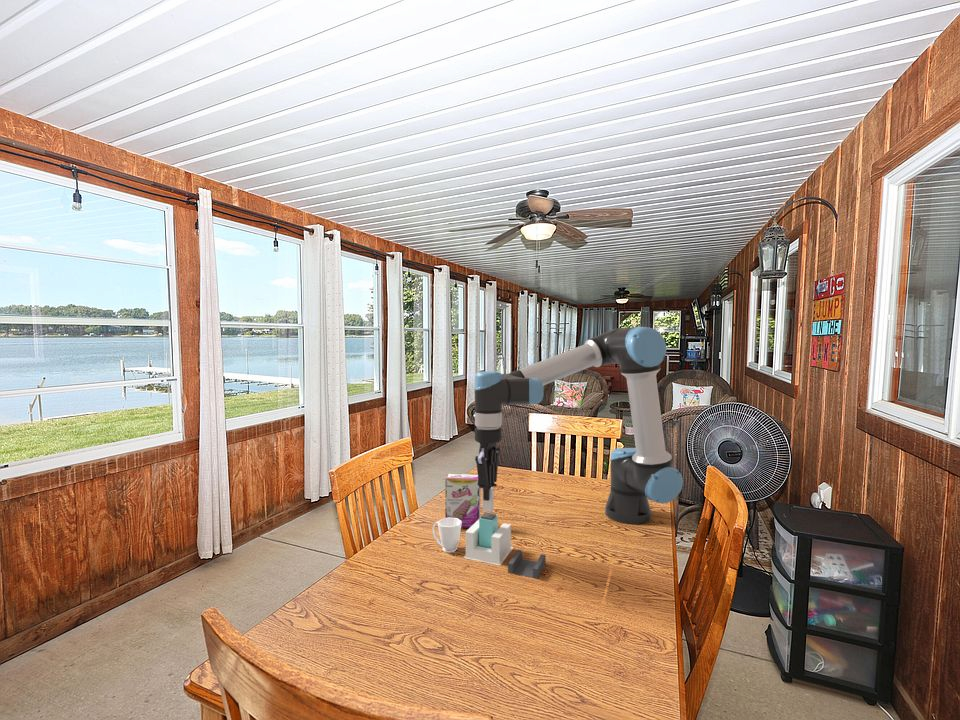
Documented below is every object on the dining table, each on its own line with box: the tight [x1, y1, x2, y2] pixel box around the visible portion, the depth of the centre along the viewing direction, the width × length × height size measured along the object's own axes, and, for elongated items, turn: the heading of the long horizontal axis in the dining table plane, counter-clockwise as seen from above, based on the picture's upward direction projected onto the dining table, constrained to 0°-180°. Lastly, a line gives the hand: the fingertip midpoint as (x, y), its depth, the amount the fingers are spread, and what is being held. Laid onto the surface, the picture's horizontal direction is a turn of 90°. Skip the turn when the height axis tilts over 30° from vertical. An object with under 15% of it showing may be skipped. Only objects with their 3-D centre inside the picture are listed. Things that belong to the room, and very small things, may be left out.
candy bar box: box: [444, 473, 482, 529], centre depth 143 cm, size 11×5×16 cm, turn 84°
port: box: [462, 519, 514, 567], centre depth 124 cm, size 11×11×8 cm
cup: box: [431, 517, 462, 554], centre depth 128 cm, size 7×10×8 cm
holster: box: [507, 549, 547, 580], centre depth 115 cm, size 8×8×3 cm
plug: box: [479, 511, 499, 549], centre depth 124 cm, size 4×4×11 cm
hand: (488, 510), depth 123 cm, fingers closed
